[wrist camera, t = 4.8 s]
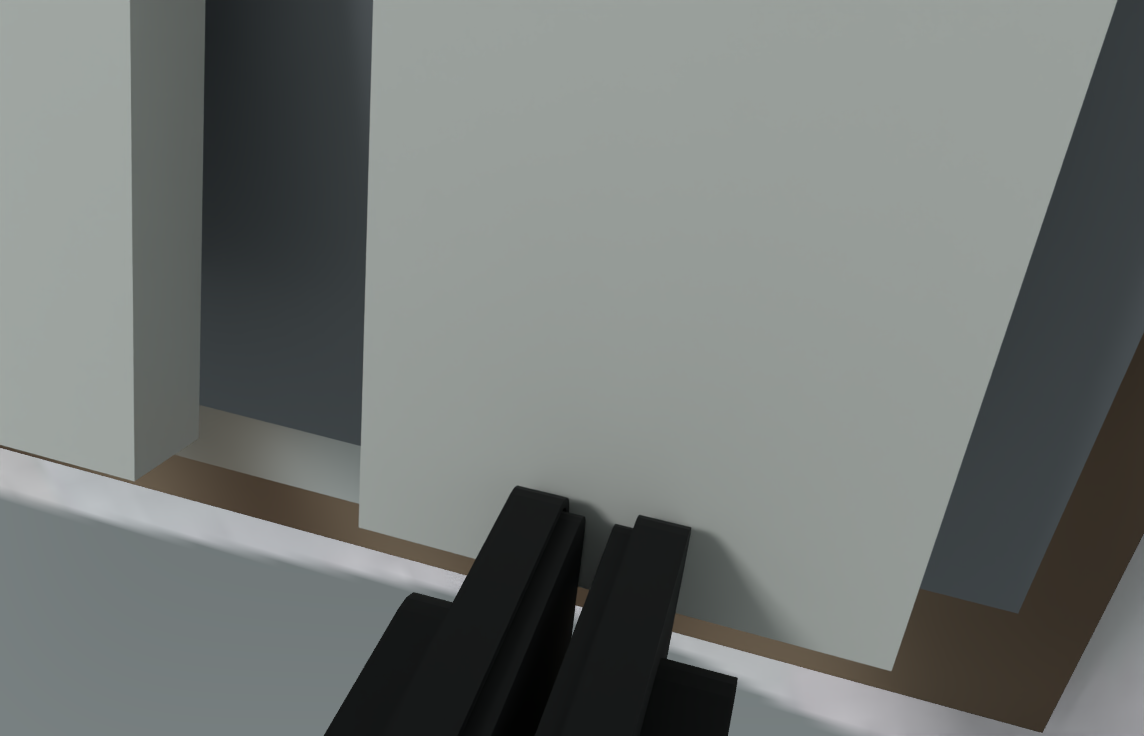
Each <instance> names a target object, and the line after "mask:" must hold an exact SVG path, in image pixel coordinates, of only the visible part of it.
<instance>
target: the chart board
mask: <svg viewBox="0 0 1144 736" xmlns="http://www.w3.org/2000/svg"><path fill="white" fill-rule="evenodd" d="M0 448H3V449H7V450H10V451H14V452H18V453H21V454H25V455H29V456H32V457H36V458H40V459H43V460H47V461H51V462H54V463H58V464H62V465H65V466H69V467H73V468H76V469H80V470H84V471H87V472H91V473H94V474H98V475H102V476H105V477H109V478H113V479H116V480H120V481H124V482H127V483H131V484H135V485H138V486H142V487H146V488H149V489H153V490H157V491H160V492H164V493H168V494H171V495H175V496H179V497H182V498H186V499H189V500H193V501H197V502H200V503H204V504H208V505H211V506H215V507H219V508H222V509H226V510H230V511H233V512H237V513H241V514H244V515H248V516H252V517H255V518H259V519H263V520H266V521H270V522H274V523H277V524H281V525H284V526H288V527H292V528H295V529H299V530H303V531H306V532H310V533H314V534H317V535H321V536H325V537H328V538H332V539H336V540H339V541H343V542H347V543H350V544H354V545H358V546H361V547H365V548H369V549H372V550H376V551H379V552H383V553H387V554H390V555H394V556H398V557H401V558H405V559H409V560H412V561H416V562H420V563H423V564H427V565H431V566H434V567H438V568H442V569H445V570H449V571H453V572H456V573H460V574H464V575H468V573H469V571H470V569H471V567H472V565H473V563H474V561H475V559H474V558H470V557H466V556H463V555H459V554H455V553H451V552H448V551H444V550H440V549H437V548H433V547H429V546H426V545H422V544H418V543H414V542H411V541H407V540H403V539H400V538H396V537H392V536H389V535H385V534H381V533H377V532H374V531H370V530H366V529H363V528H359V495H360V459H361V446H358V445H355V444H351V443H347V442H343V441H339V440H335V439H331V438H327V437H323V436H319V435H315V434H311V433H307V432H304V431H300V430H296V429H292V428H288V427H284V426H280V425H276V424H272V423H268V422H264V421H260V420H256V419H253V418H249V417H245V416H241V415H237V414H233V413H229V412H225V411H221V410H217V409H213V408H209V407H205V406H202V405H199V438H198V439H197V440H195V441H194V442H192V443H191V444H189V445H188V446H186V447H185V448H183V449H182V450H180V451H179V452H177V453H176V454H175V455H173V456H172V457H170V458H169V459H167V460H166V461H164V462H163V463H161V464H160V465H158V466H157V467H155V468H154V469H152V470H151V471H149V472H148V473H146V474H145V475H143V476H142V477H140V478H139V479H137V480H136V481H131V480H127V479H124V478H120V477H116V476H113V475H109V474H105V473H102V472H98V471H94V470H91V469H87V468H83V467H80V466H76V465H72V464H69V463H65V462H61V461H58V460H54V459H50V458H47V457H43V456H40V455H36V454H32V453H29V452H25V451H21V450H18V449H14V448H10V447H7V446H3V445H0ZM1143 534H1144V333H1143V335H1142V337H1141V340H1140V342H1139V344H1138V346H1137V349H1136V351H1135V353H1134V355H1133V358H1132V360H1131V362H1130V364H1129V366H1128V369H1127V371H1126V373H1125V375H1124V378H1123V380H1122V382H1121V384H1120V387H1119V389H1118V391H1117V393H1116V396H1115V398H1114V400H1113V402H1112V404H1111V407H1110V409H1109V411H1108V413H1107V416H1106V418H1105V420H1104V422H1103V425H1102V427H1101V429H1100V431H1099V434H1098V436H1097V438H1096V440H1095V443H1094V445H1093V447H1092V449H1091V451H1090V454H1089V456H1088V458H1087V460H1086V463H1085V465H1084V467H1083V469H1082V472H1081V474H1080V476H1079V478H1078V481H1077V483H1076V485H1075V487H1074V490H1073V492H1072V494H1071V496H1070V498H1069V501H1068V503H1067V505H1066V507H1065V510H1064V512H1063V514H1062V516H1061V519H1060V521H1059V523H1058V525H1057V528H1056V530H1055V532H1054V534H1053V536H1052V539H1051V541H1050V543H1049V545H1048V548H1047V550H1046V552H1045V554H1044V557H1043V559H1042V561H1041V563H1040V566H1039V568H1038V570H1037V572H1036V575H1035V577H1034V579H1033V581H1032V583H1031V586H1030V588H1029V590H1028V592H1027V595H1026V597H1025V599H1024V601H1023V604H1022V606H1021V608H1020V610H1019V613H1014V612H1010V611H1006V610H1002V609H998V608H994V607H990V606H986V605H982V604H978V603H975V602H971V601H967V600H963V599H959V598H955V597H951V596H947V595H943V594H939V593H935V592H931V591H927V590H924V589H920V588H919V591H918V594H917V597H916V600H915V603H914V606H913V609H912V612H911V615H910V618H909V621H908V624H907V627H906V630H905V633H904V636H903V638H902V641H901V644H900V647H899V650H898V653H897V656H896V659H895V662H894V665H893V668H892V671H888V670H884V669H881V668H877V667H873V666H870V665H866V664H862V663H858V662H855V661H851V660H847V659H844V658H840V657H836V656H833V655H829V654H825V653H821V652H818V651H814V650H810V649H807V648H803V647H799V646H796V645H792V644H788V643H784V642H781V641H777V640H773V639H770V638H766V637H762V636H759V635H755V634H751V633H747V632H744V631H740V630H736V629H733V628H729V627H725V626H722V625H718V624H714V623H710V622H707V621H703V620H699V619H696V618H692V617H688V616H685V615H681V614H677V613H675V619H674V624H673V629H672V632H675V633H679V634H683V635H686V636H690V637H694V638H697V639H701V640H705V641H708V642H712V643H716V644H719V645H723V646H727V647H730V648H734V649H738V650H741V651H745V652H749V653H752V654H756V655H759V656H763V657H767V658H770V659H774V660H778V661H781V662H785V663H789V664H792V665H796V666H800V667H803V668H807V669H811V670H814V671H818V672H822V673H825V674H829V675H833V676H836V677H840V678H844V679H847V680H851V681H854V682H858V683H862V684H865V685H869V686H873V687H876V688H880V689H884V690H887V691H891V692H895V693H898V694H902V695H906V696H909V697H913V698H917V699H920V700H924V701H928V702H931V703H935V704H939V705H942V706H946V707H949V708H953V709H957V710H960V711H964V712H968V713H971V714H975V715H979V716H982V717H986V718H990V719H993V720H997V721H1001V722H1004V723H1008V724H1012V725H1015V726H1019V727H1023V728H1026V729H1030V730H1034V731H1037V732H1041V733H1043V731H1044V729H1045V727H1046V725H1047V723H1048V721H1049V719H1050V717H1051V715H1052V713H1053V711H1054V709H1055V707H1056V705H1057V703H1058V701H1059V699H1060V697H1061V695H1062V693H1063V691H1064V689H1065V687H1066V685H1067V684H1068V682H1069V680H1070V678H1071V676H1072V674H1073V672H1074V670H1075V668H1076V666H1077V664H1078V662H1079V660H1080V658H1081V656H1082V654H1083V652H1084V650H1085V648H1086V646H1087V644H1088V642H1089V640H1090V638H1091V636H1092V634H1093V632H1094V630H1095V628H1096V627H1097V625H1098V623H1099V621H1100V619H1101V617H1102V615H1103V613H1104V611H1105V609H1106V607H1107V605H1108V603H1109V601H1110V599H1111V597H1112V595H1113V593H1114V591H1115V589H1116V587H1117V585H1118V583H1119V581H1120V579H1121V577H1122V575H1123V573H1124V571H1125V570H1126V568H1127V566H1128V564H1129V562H1130V560H1131V558H1132V556H1133V554H1134V552H1135V550H1136V548H1137V546H1138V544H1139V542H1140V540H1141V538H1142V536H1143ZM588 592H589V590H588V589H585V588H581V587H578V589H577V597H576V605H577V606H580V607H583V606H584V603H585V600H586V598H587V595H588Z"/></svg>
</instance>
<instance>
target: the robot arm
mask: <svg viewBox="0 0 1144 736" xmlns="http://www.w3.org/2000/svg"><path fill="white" fill-rule="evenodd" d="M585 523H586V519H585V516H581V515H577V514H573V513H569V499H568V498H567V497H564V496H559V495H555V494H551V493H547V492H543V491H539V490H535V489H530V488H526V487H522V486H518V485H517V486H516V487H514V489H513V490H512V492H511V493H510V495H509V497H508V499H507V501H506V503H505V504H504V506H503V508H502V510H501V512H500V514H499V516H498V518H497V520H496V522H495V523H494V525H493V527H492V529H491V531H490V533H489V535H488V537H487V539H486V540H485V542H484V544H483V546H482V548H481V550H480V552H479V554H478V556H477V558H476V559H475V561H474V563H473V565H472V567H471V569H470V571H469V573H468V575H467V576H466V578H465V580H464V582H463V584H462V586H461V588H460V590H459V592H458V593H457V595H456V597H455V599H454V601H453V602H449V601H445V600H441V599H438V598H434V597H430V596H426V595H422V594H419V593H414V592H413V593H412V594H410V595H409V596H408V597H406V599H405V600H404V602H403V603H402V604H401V606H400V607H399V609H398V610H397V612H396V614H395V615H394V617H393V619H392V620H391V622H390V624H389V626H388V627H387V629H386V631H385V632H384V634H383V636H382V638H381V639H380V641H379V643H378V645H377V646H376V648H375V649H374V651H373V653H372V655H371V656H370V658H369V660H368V661H367V663H366V665H365V666H364V668H363V670H362V672H361V673H360V675H359V677H358V679H357V680H356V682H355V684H354V685H353V687H352V689H351V690H350V692H349V694H348V695H347V697H346V699H345V700H344V702H343V704H342V706H341V707H340V709H339V711H338V713H337V714H336V716H335V717H334V719H333V721H332V723H331V724H330V726H329V728H328V729H327V731H326V733H325V735H324V736H728V732H729V726H730V720H731V715H732V710H733V704H734V699H735V693H736V687H737V679H738V678H736V677H733V676H729V675H725V674H721V673H717V672H714V671H710V670H706V669H702V668H699V667H695V666H691V665H687V664H684V663H680V662H676V661H672V660H668V659H667V655H668V650H669V645H670V639H671V634H672V629H673V624H674V619H675V613H676V608H677V602H678V597H679V592H680V587H681V582H682V577H683V572H684V567H685V561H686V556H687V551H688V546H689V540H690V535H691V527H688V526H684V525H680V524H676V523H672V522H668V521H664V520H659V519H655V518H651V517H647V516H643V515H638V517H637V519H636V522H635V524H634V527H633V528H631V527H627V526H623V525H619V524H615V525H614V526H613V529H612V531H611V534H610V536H609V539H608V542H607V544H606V547H605V550H604V552H603V555H602V558H601V560H600V563H599V566H598V568H597V571H596V574H595V576H594V579H593V582H592V584H591V587H590V590H589V592H588V595H587V598H586V600H585V603H584V606H583V608H582V611H581V614H580V616H579V619H578V622H577V624H576V627H575V630H574V632H573V635H572V629H573V621H574V613H575V605H576V597H577V589H578V581H579V573H580V565H581V557H582V549H583V541H584V533H585ZM571 637H572V638H571Z"/></svg>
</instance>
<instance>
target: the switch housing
mask: <svg viewBox="0 0 1144 736" xmlns="http://www.w3.org/2000/svg"><path fill="white" fill-rule="evenodd" d="M372 26H373V0H205V58H204V124H203V190H202V255H201V321H200V387H199V405H202V406H205V407H209V408H213V409H217V410H221V411H225V412H229V413H233V414H237V415H241V416H245V417H249V418H253V419H256V420H260V421H264V422H268V423H272V424H276V425H280V426H284V427H288V428H292V429H296V430H300V431H304V432H307V433H311V434H315V435H319V436H323V437H327V438H331V439H335V440H339V441H343V442H347V443H351V444H355V445H358V446H361V423H362V387H363V351H364V315H365V279H366V243H367V206H368V170H369V134H370V98H371V62H372ZM1143 333H1144V0H1117V3H1116V6H1115V9H1114V12H1113V15H1112V18H1111V21H1110V24H1109V27H1108V30H1107V33H1106V36H1105V39H1104V42H1103V45H1102V48H1101V51H1100V53H1099V56H1098V59H1097V62H1096V65H1095V68H1094V71H1093V74H1092V77H1091V80H1090V83H1089V86H1088V89H1087V92H1086V95H1085V98H1084V101H1083V104H1082V107H1081V110H1080V113H1079V116H1078V119H1077V122H1076V125H1075V128H1074V131H1073V134H1072V137H1071V140H1070V143H1069V146H1068V149H1067V151H1066V154H1065V157H1064V160H1063V163H1062V166H1061V169H1060V172H1059V175H1058V178H1057V181H1056V184H1055V187H1054V190H1053V193H1052V196H1051V199H1050V202H1049V205H1048V208H1047V211H1046V214H1045V217H1044V220H1043V223H1042V226H1041V229H1040V232H1039V235H1038V238H1037V241H1036V244H1035V246H1034V249H1033V252H1032V255H1031V258H1030V261H1029V264H1028V267H1027V270H1026V273H1025V276H1024V279H1023V282H1022V285H1021V288H1020V291H1019V294H1018V297H1017V300H1016V303H1015V306H1014V309H1013V312H1012V315H1011V318H1010V321H1009V324H1008V327H1007V330H1006V333H1005V336H1004V339H1003V342H1002V344H1001V347H1000V350H999V353H998V356H997V359H996V362H995V365H994V368H993V371H992V374H991V377H990V380H989V383H988V386H987V389H986V392H985V395H984V398H983V401H982V404H981V407H980V410H979V413H978V416H977V419H976V422H975V425H974V428H973V431H972V434H971V437H970V440H969V442H968V445H967V448H966V451H965V454H964V457H963V460H962V463H961V466H960V469H959V472H958V475H957V478H956V481H955V484H954V487H953V490H952V493H951V496H950V499H949V502H948V505H947V508H946V511H945V514H944V517H943V520H942V523H941V526H940V529H939V532H938V535H937V538H936V540H935V543H934V546H933V549H932V552H931V555H930V558H929V561H928V564H927V567H926V570H925V573H924V576H923V579H922V582H921V585H920V589H924V590H927V591H931V592H935V593H939V594H943V595H947V596H951V597H955V598H959V599H963V600H967V601H971V602H975V603H978V604H982V605H986V606H990V607H994V608H998V609H1002V610H1006V611H1010V612H1014V613H1019V610H1020V608H1021V606H1022V604H1023V601H1024V599H1025V597H1026V595H1027V592H1028V590H1029V588H1030V586H1031V583H1032V581H1033V579H1034V577H1035V575H1036V572H1037V570H1038V568H1039V566H1040V563H1041V561H1042V559H1043V557H1044V554H1045V552H1046V550H1047V548H1048V545H1049V543H1050V541H1051V539H1052V536H1053V534H1054V532H1055V530H1056V528H1057V525H1058V523H1059V521H1060V519H1061V516H1062V514H1063V512H1064V510H1065V507H1066V505H1067V503H1068V501H1069V498H1070V496H1071V494H1072V492H1073V490H1074V487H1075V485H1076V483H1077V481H1078V478H1079V476H1080V474H1081V472H1082V469H1083V467H1084V465H1085V463H1086V460H1087V458H1088V456H1089V454H1090V451H1091V449H1092V447H1093V445H1094V443H1095V440H1096V438H1097V436H1098V434H1099V431H1100V429H1101V427H1102V425H1103V422H1104V420H1105V418H1106V416H1107V413H1108V411H1109V409H1110V407H1111V404H1112V402H1113V400H1114V398H1115V396H1116V393H1117V391H1118V389H1119V387H1120V384H1121V382H1122V380H1123V378H1124V375H1125V373H1126V371H1127V369H1128V366H1129V364H1130V362H1131V360H1132V358H1133V355H1134V353H1135V351H1136V349H1137V346H1138V344H1139V342H1140V340H1141V337H1142V335H1143Z"/></svg>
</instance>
